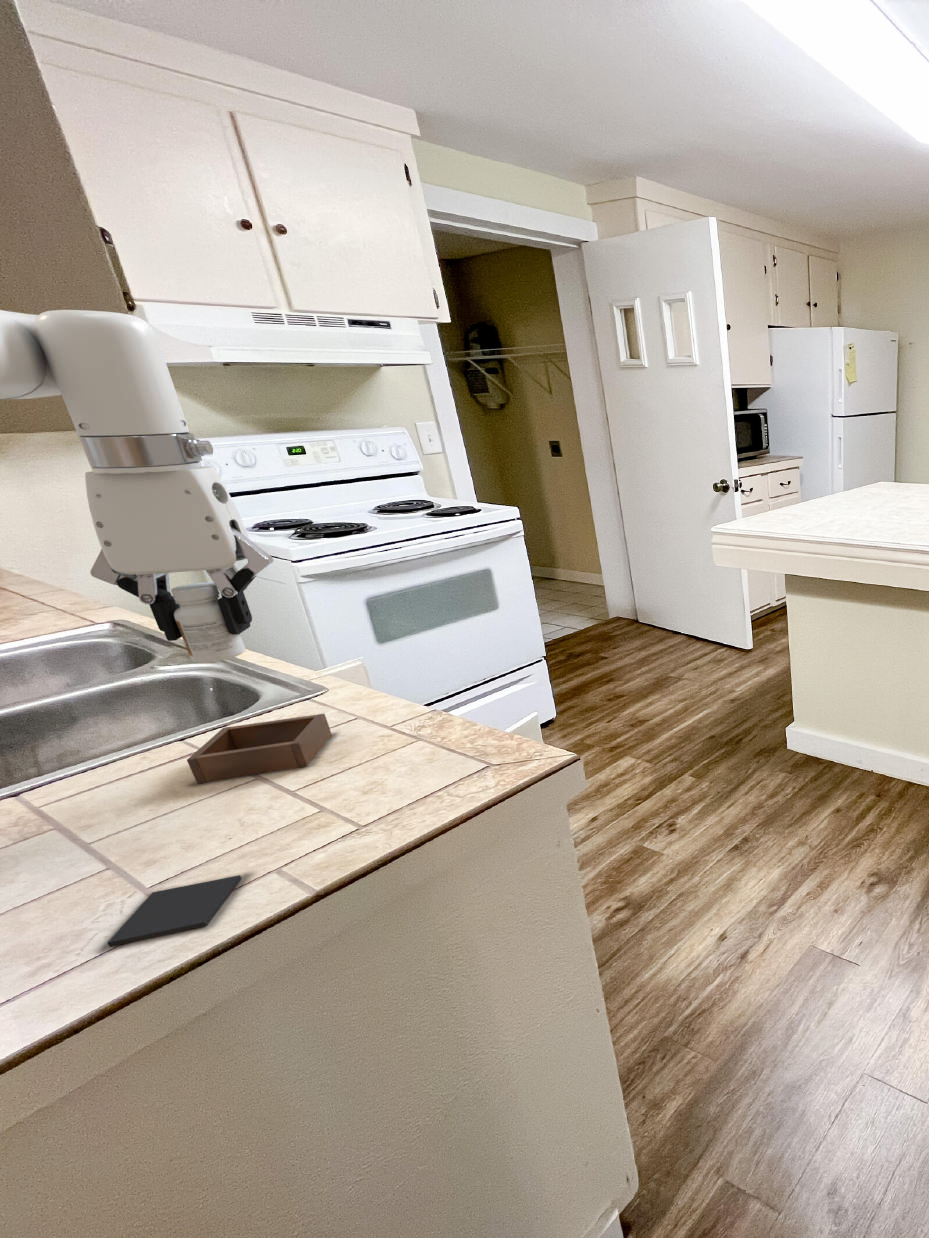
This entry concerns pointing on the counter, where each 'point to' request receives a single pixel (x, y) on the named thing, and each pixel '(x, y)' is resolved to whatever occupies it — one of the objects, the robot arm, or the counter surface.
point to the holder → (260, 748)
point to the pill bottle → (204, 624)
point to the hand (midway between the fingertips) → (210, 632)
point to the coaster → (176, 910)
